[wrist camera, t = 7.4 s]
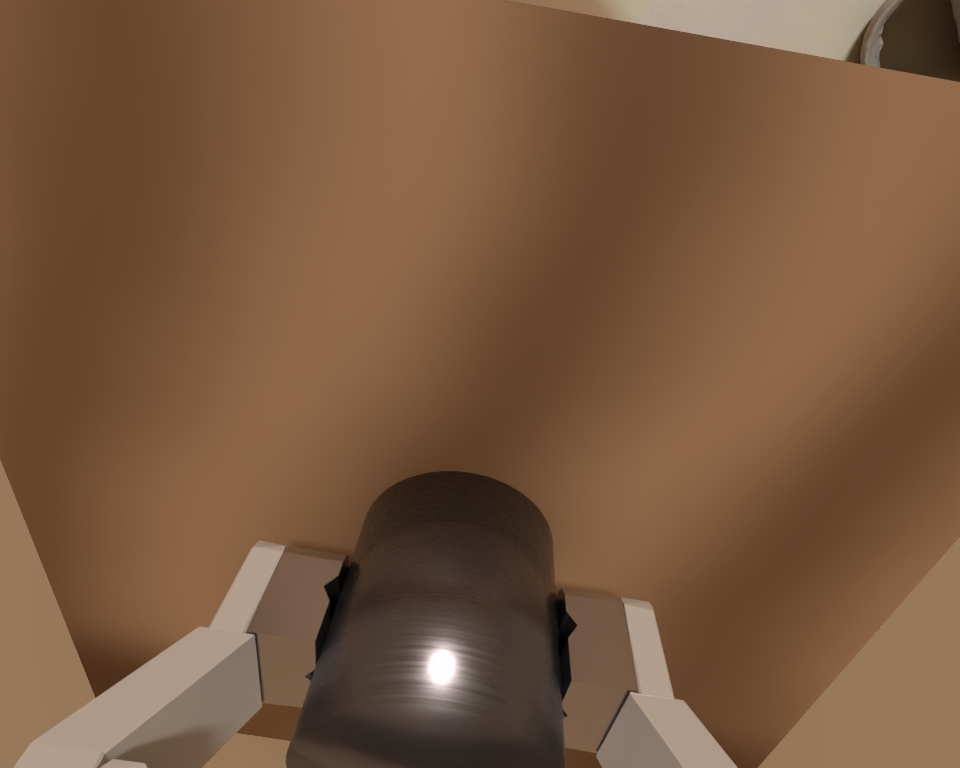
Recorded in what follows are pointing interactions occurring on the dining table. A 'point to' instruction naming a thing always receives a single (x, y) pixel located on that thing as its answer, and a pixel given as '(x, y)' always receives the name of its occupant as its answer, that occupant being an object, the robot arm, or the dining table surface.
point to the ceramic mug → (875, 28)
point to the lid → (476, 349)
